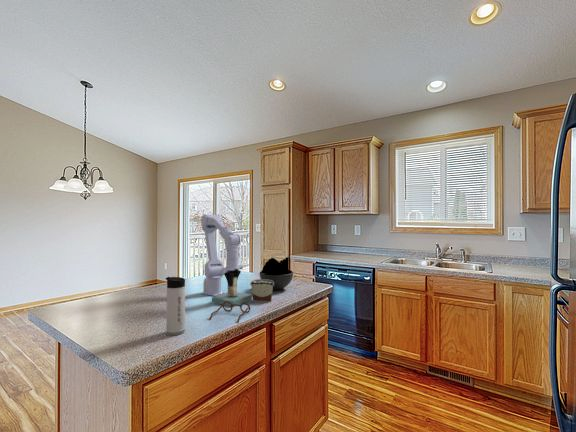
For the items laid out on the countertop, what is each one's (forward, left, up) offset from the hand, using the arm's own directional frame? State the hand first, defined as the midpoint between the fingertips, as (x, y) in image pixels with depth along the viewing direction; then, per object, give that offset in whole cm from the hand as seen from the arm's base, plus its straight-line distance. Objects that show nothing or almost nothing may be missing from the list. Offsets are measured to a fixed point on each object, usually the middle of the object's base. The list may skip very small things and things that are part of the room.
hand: (232, 285), depth 144 cm
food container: (+12, +10, -8) cm, 18 cm away
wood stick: (0, 0, -5) cm, 5 cm away
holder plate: (0, 0, -8) cm, 8 cm away
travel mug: (+9, -41, -8) cm, 43 cm away
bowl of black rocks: (+6, +32, -8) cm, 34 cm away
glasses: (+15, -18, -8) cm, 25 cm away
